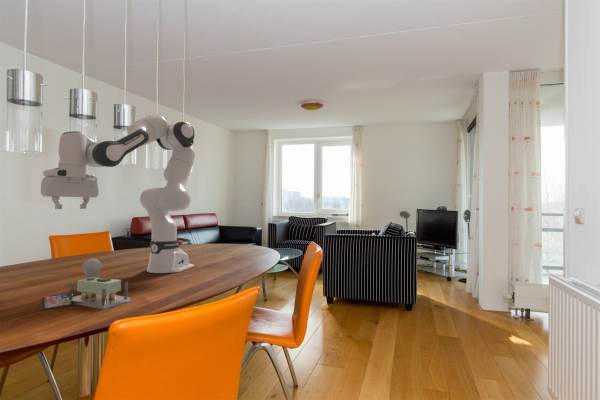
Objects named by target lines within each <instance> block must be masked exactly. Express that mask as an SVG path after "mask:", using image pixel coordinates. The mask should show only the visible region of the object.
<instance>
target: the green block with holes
mask: <svg viewBox="0 0 600 400" xmlns="http://www.w3.org/2000/svg"><path fill="white" fill-rule="evenodd" d="M121 285H122V280H121V279H114V278H110V277H98V276H97V277H90V278H83V279H82V278H81V279H78V280H77V283H76V291H77V292H80V293H81V292H87V293H95V294H102V289H103V288H106V295H108V294H112V293H115V292H116V293H118V292H121V291H122V286H121Z"/></svg>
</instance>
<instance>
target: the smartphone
mask: <svg viewBox="0 0 600 400" xmlns="http://www.w3.org/2000/svg"><path fill="white" fill-rule="evenodd" d="M68 298H69V293H61V294H53V295H47V296H43V297H42V299H41V300H42V310H43V311H48V310H56V309H63V308H64V309H65V308H70V307H73V305H74V304H72V302H71V301H66V299H68Z"/></svg>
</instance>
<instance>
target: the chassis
mask: <svg viewBox="0 0 600 400" xmlns="http://www.w3.org/2000/svg"><path fill="white" fill-rule="evenodd" d="M68 286H69V288H68V294H69V298H68V299H66V301H71V302H72V304H73V305H79V306H84V307H87V308H93V309H99V310H107V309H109V308H112V307H116V306H119V305H122V304H125V303H128V302H131V301H132V300H131V298H132V297H129V295H128V294H129V282H124V289H123V292H124V295H117V292H115V293H112V294H108V295H106V288H103V289H102V294H95V293H87V292H80V293H81V295H75V296H74V283H73V282H69V285H68Z"/></svg>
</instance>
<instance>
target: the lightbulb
mask: <svg viewBox="0 0 600 400" xmlns="http://www.w3.org/2000/svg"><path fill="white" fill-rule="evenodd" d="M81 268H82V269H81V270H82V271H83V273H84V275H85V277H86V278H90V277H98V276H99V273H100V271H101V270H102V263H101V261H100V260H98V259H97V258H89V259H87V260H85V261H84V262H83V263H82V266H81ZM86 278H85V279H86Z"/></svg>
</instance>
